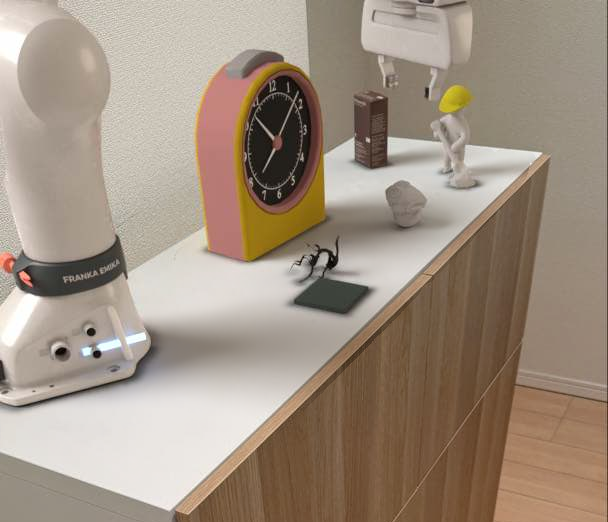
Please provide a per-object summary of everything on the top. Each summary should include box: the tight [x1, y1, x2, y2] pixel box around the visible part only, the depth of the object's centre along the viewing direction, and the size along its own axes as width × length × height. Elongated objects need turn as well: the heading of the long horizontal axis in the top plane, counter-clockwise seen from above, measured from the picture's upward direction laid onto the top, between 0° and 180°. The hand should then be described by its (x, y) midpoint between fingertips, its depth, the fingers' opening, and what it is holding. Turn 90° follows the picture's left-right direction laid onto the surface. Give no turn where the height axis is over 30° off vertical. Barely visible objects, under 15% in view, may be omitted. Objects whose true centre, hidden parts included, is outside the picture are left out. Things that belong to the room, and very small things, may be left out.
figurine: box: [430, 84, 477, 189], centre depth 139 cm, size 10×9×15 cm
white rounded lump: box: [384, 179, 428, 228], centre depth 126 cm, size 6×7×7 cm
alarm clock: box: [194, 48, 326, 262], centre depth 120 cm, size 21×9×26 cm, turn 143°
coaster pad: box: [293, 276, 369, 315], centre depth 111 cm, size 8×8×1 cm
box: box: [353, 90, 389, 169], centre depth 149 cm, size 6×4×12 cm
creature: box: [290, 235, 341, 283], centre depth 115 cm, size 8×5×8 cm
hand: (410, 94), depth 115 cm, fingers open, 8 cm apart
